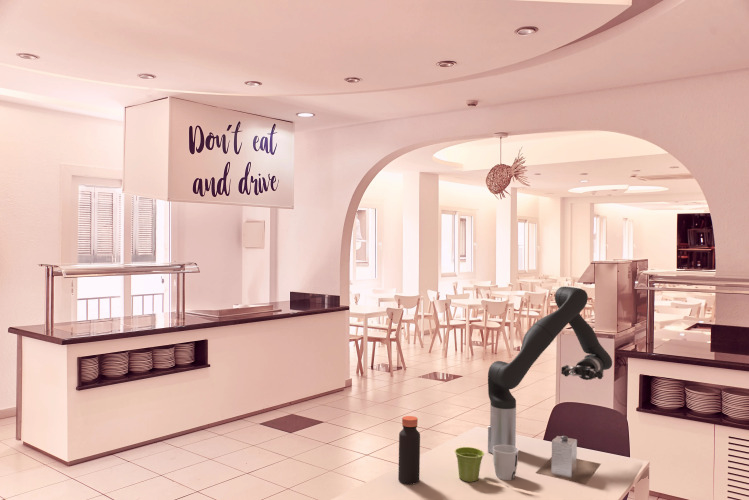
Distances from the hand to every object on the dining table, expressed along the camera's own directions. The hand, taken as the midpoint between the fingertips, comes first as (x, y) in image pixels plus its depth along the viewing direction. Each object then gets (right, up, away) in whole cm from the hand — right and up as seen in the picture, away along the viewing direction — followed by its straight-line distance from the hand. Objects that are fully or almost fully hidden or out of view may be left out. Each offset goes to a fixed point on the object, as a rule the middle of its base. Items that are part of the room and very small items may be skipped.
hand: (577, 375), depth 205 cm
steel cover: (-11, -29, -18) cm, 35 cm away
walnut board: (-7, -30, -13) cm, 33 cm away
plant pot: (-43, -29, -21) cm, 56 cm away
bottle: (-62, -29, -23) cm, 72 cm away
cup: (-31, -29, -21) cm, 48 cm away
